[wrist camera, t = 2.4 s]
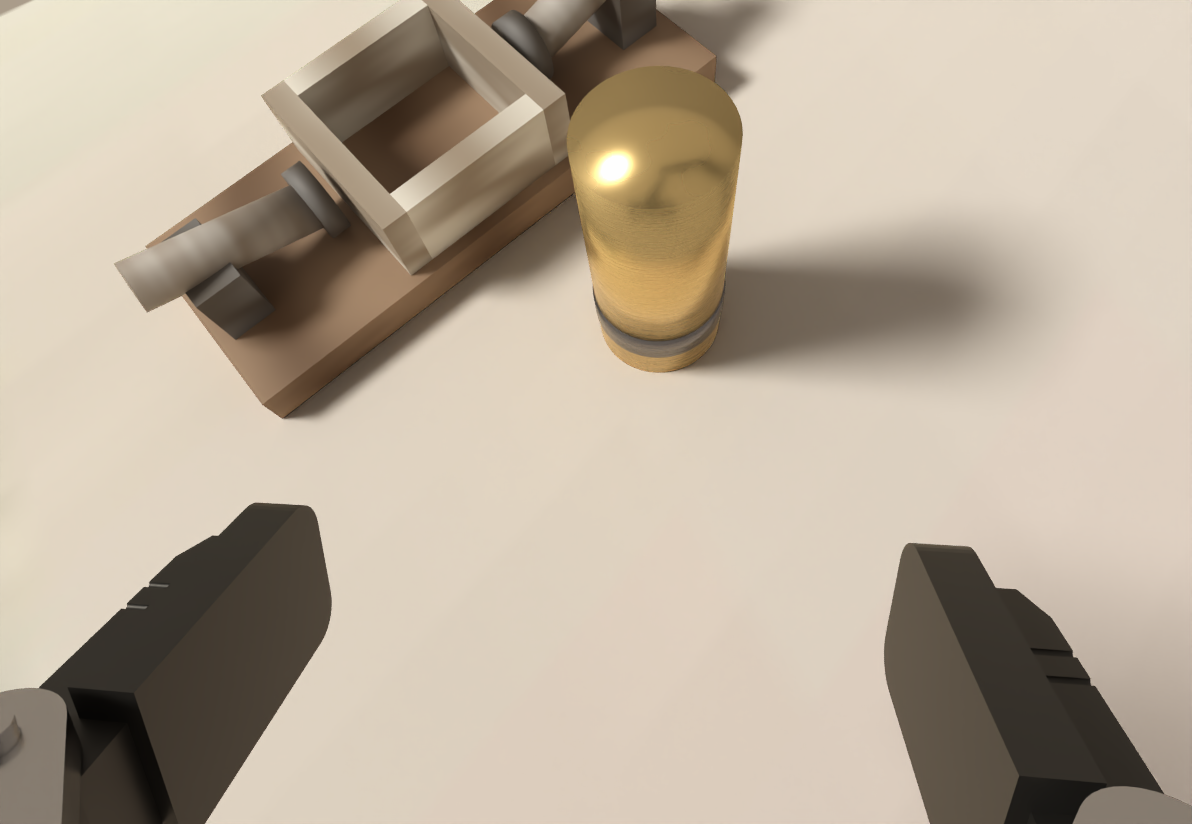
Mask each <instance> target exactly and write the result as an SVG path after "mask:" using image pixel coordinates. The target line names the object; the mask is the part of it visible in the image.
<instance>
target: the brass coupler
mask: <svg viewBox="0 0 1192 824" xmlns="http://www.w3.org/2000/svg"><path fill="white" fill-rule="evenodd" d="M742 136H743V132H742V123H741V119H740V115H739V113H738V110H737V108H736V106H735V104H734V103H733V101H732V99H731V98H730V97H729V96H728V94H727V93H726V92H725V91H724V90H723V89H722V88H721V87H720V86H718V85H717V84H716V83H714V82H713V81H711V80H710V79H708V78H706V77H704V76H703V75H701V74H698V73H696V72H693V71H690V70H686V69H683V68H678V67H671V66H647V67H640V68H635V69H631V70H628V71H624V72H622V73H619V74H617V75H614V76H612V77H610V78H608V79H607V80H605V81H603V82H602V83H600V84H599V85H597V86H596V87H595V88H594V89H592V90H591V91H590V92H589V93H588V94H587V95H586V96H585V97H584V98H583V99H582V101H581V102H580V103H579V105H578V106H577V108H576V109H575V111H574V113H573V115H572V117H571V120H570V123H569V126H568V131H567V151H568V157H569V162H570V167H571V173H572V178H573V183H574V188H575V193H576V199H577V204H578V209H579V214H580V220H581V225H582V230H583V235H584V240H585V246H586V251H587V256H588V261H589V267H590V272H591V277H592V282H593V295H594V300H595V305H596V311H597V315H598V318H599V321H600V324H601V329H602V333H603V336H604V339H605V341H606V343H607V345H608V346H609V348H610V349H611V351H612V352H613V353H614V354H615V355H616V356H617V357H618V358H619V359H620V360H622V361H623V362H625V363H626V364H628V365H630V366H632V367H634V368H637V369H640V370H644V371H648V372H669V371H674V370H678V369H681V368H684V367H686V366H688V365H690V364H692V363H693V362H695V361H696V360H698V359H699V358H700V357H701V356H702V355H703V354H705V353H706V351H707V350H708V349H709V348H710V346H711V345H712V343H713V341H714V339H715V337H716V334H717V331H718V327H719V319H720V316H721V312H722V307H723V299H724V291H725V272H726V264H727V256H728V248H729V240H730V232H731V225H732V217H733V209H734V201H735V193H736V185H737V177H738V170H739V162H740V154H741V146H742Z"/></svg>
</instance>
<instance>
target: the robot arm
mask: <svg viewBox="0 0 1192 824" xmlns="http://www.w3.org/2000/svg"><path fill="white" fill-rule="evenodd" d="M331 606H332V599H331V591H330V585H329V580H328V575H327V569H326V564H325V558H324V553H323V548H322V542H321V537H320V531H319V526H318V521H317V517H316V515H315V513H314V511H313V510H312V509H311V507H309V506H304V505H288V504H271V503H253V504H251V505H249V506H248V507H247V508H246V509H245V510H244V511H243V512H242V513H241V514H240V515H239V516H238V517H237V518H236V519H235V520H234V521H233V522H232V523H231V524H230V525H229V526H228V527H227V528H226V529H225V530H224V531H223V532H222V533H221V534H220V535H219V536H211V537H209V538H208V539H206V540H204V541H202V542H201V543H199V544H197V545H195V546H194V547H192V548H190V549H188V550H187V551H185V552H183V553H181V554H179V555H178V556H176V557H175V558H174V559H173V560H172V561H171V562H170V563H169V564H168V565H167V566H166V567H164V568H163V569H162V570H161V571H160V572H159V573H158V574H157V575H156V576H155V577H154V578H153V579H152V580H151V581H150V582H149V587H144V588H143V589H141V590H140V591H139V592H138V593H137V594H136V595H135V596H134V597H133V598H132V599H131V600H130V601H129V602H128V603H127V608H126V609H121V610H120V611H118V612H117V613H116V614H115V615H114V616H113V617H112V618H111V619H110V620H109V621H108V622H107V623H106V624H105V625H104V626H103V627H102V628H101V629H100V630H99V631H98V632H97V633H95V634H94V635H93V636H92V637H91V638H90V639H89V640H88V641H87V642H86V643H85V644H84V645H83V646H82V647H81V648H80V649H79V650H78V651H77V652H76V653H75V654H74V655H73V656H71V657H70V658H69V659H68V660H67V661H66V662H65V663H64V664H63V665H62V666H61V667H60V668H59V669H58V670H57V671H56V672H55V673H54V674H53V675H52V676H51V677H50V678H48V679H47V680H46V681H45V682H44V683H43V684H42V685H41V686H40V687H39V688H24V689H15V690H9V691H4V692H1V693H0V824H205V823H206V821H207V820H208V818H209V816H210V815H211V813H212V812H213V810H214V809H215V807H216V805H217V804H218V802H219V801H220V799H221V798H222V796H223V795H224V793H225V791H226V790H227V788H228V787H229V785H230V784H231V782H232V781H233V779H234V777H235V776H236V774H237V773H238V771H239V770H240V768H241V767H242V765H243V763H244V762H245V760H246V759H247V757H248V756H249V754H250V752H251V751H252V749H253V748H254V746H255V745H256V743H257V742H258V740H259V738H260V737H261V735H262V734H263V732H264V731H265V729H266V728H267V726H268V724H269V723H270V721H271V720H272V718H273V717H274V715H275V714H276V712H277V710H278V709H279V707H280V706H281V704H282V703H283V701H284V699H285V698H286V696H287V695H288V693H289V692H290V690H291V689H292V687H293V685H294V684H295V682H296V681H297V679H298V678H299V676H300V675H301V673H302V671H303V670H304V668H305V667H306V665H307V664H308V662H309V661H310V659H311V657H312V656H313V654H314V653H315V651H316V650H317V648H318V646H319V645H320V643H321V642H322V640H323V638H324V636H325V634H326V631H327V628H328V625H329V621H330V616H331ZM1072 653H1073V651H1072V649H1071V647H1070V646H1069V644H1068V643H1067V641H1066V640H1065V638H1064V637H1063V635H1062V633H1061V632H1060V630H1059V629H1058V627H1057V626H1056V624H1055V622H1054V621H1053V619H1052V618H1051V617H1050V616H1048V615H1047V614H1046V613H1045V612H1044V611H1042V610H1041V609H1040V608H1039V607H1037V606H1036V605H1035V604H1034V603H1032V602H1031V601H1030V600H1029V599H1028V598H1026V597H1025V596H1024V595H1023V594H1021V593H1020V592H1019V591H1018V590H1016V589H1002V588H996V587H995V586H994V584H993V582H992V580H991V579H990V577H989V575H988V573H987V572H986V570H985V568H984V566H983V565H982V563H981V561H980V559H979V558H978V556H977V554H976V553H975V551H974V550H973V549H972V548H971V547H967V546H950V545H934V544H917V543H908V544H907V545H906V546H905V547H904V549H903V552H902V555H901V559H900V564H899V569H898V574H897V579H896V584H895V590H894V595H893V600H892V605H891V610H890V615H889V621H888V626H887V631H886V637H885V646H884V664H885V674H886V680H887V685H888V689H889V692H890V695H891V699H892V702H893V705H894V708H895V712H896V715H897V718H898V721H899V725H900V728H901V731H902V734H903V738H904V741H905V744H906V747H907V751H908V754H909V757H910V760H911V764H912V767H913V770H914V773H915V777H916V780H917V783H918V786H919V790H920V793H921V796H922V799H923V802H924V806H925V809H926V812H927V815H928V819H929V822H930V824H1192V806H1190V805H1188V804H1186V803H1184V802H1182V801H1180V800H1177V799H1175V798H1173V797H1170V796H1167V795H1165V794H1164V793H1163V791H1162V790H1161V788H1160V787H1159V785H1158V783H1157V782H1156V780H1155V779H1154V777H1153V776H1152V774H1151V772H1150V771H1149V769H1148V768H1147V766H1146V765H1145V763H1144V762H1143V760H1142V758H1141V757H1140V755H1139V754H1138V752H1137V751H1136V749H1135V747H1134V746H1133V744H1132V743H1131V741H1130V740H1129V738H1128V737H1127V735H1126V733H1125V732H1124V730H1123V729H1122V727H1121V726H1120V724H1119V722H1118V721H1117V719H1116V718H1115V716H1114V715H1113V713H1112V712H1111V710H1110V708H1109V707H1108V705H1107V704H1106V702H1105V701H1104V699H1103V697H1102V696H1101V694H1100V693H1099V691H1098V690H1097V688H1096V687H1095V686H1091V683H1090V677H1089V676H1088V674H1087V672H1086V671H1085V669H1084V668H1083V666H1082V665H1081V663H1080V662H1079V660H1078V658H1075V657H1073V654H1072Z"/></svg>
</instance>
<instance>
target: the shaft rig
mask: <svg viewBox="0 0 1192 824" xmlns="http://www.w3.org/2000/svg"><path fill="white" fill-rule="evenodd" d="M647 66H671V67H678V68H683V69H686V70H690V71H693V72H696V73H698V74H701V75H703V76H704V77H706V78H708V79H710V80H711V81H713V82H714V83H715V70H716V55H715V54H713V53H712V52H711V51H709V50H708V49H707V48H706V47H704V46H703V45H702V44H700V43H699V42H698V41H697V40H695V39H694V38H693V37H691V36H690V35H689V34H688V33H686V32H685V31H684V30H682V29H681V28H680V27H679V26H677V25H676V24H675V23H673V22H672V21H671V20H670V19H668V18H667V17H666V16H664V15H663V14H662V13H660V12H659V11H658V10H657V9H656V0H493V1H492V2H490V3H489V4H488V5H486V6H485V7H483V8H482V9H481V10H479V11H478V12H476V13H475V14H474V13H473V12H472V11H471V10H470V9H469V8H467V7H466V6H465V5H464V4H463V3H462V2H461V1H459V0H399V1H398V2H396V3H395V4H393V5H392V6H391V7H389V8H388V9H386V10H385V11H383V12H382V13H380V14H379V15H378V16H376V17H375V18H373V19H372V20H370V21H369V22H367V23H366V24H364V25H363V26H362V27H360V28H359V29H357V30H356V31H354V32H353V33H351V34H350V35H349V36H347V37H346V38H344V39H343V40H341V41H340V42H338V43H337V44H335V45H334V46H333V47H331V48H330V49H328V50H327V51H325V52H324V53H322V54H321V55H320V56H318V57H317V58H315V59H314V60H312V61H311V62H309V63H308V64H306V65H305V66H304V67H302V68H301V69H299V70H298V71H296V72H295V73H293V74H292V75H290V76H289V77H288V78H286V79H285V80H283V81H282V82H280V83H279V84H277V85H276V86H275V87H273V88H272V89H270V90H269V91H267V92H266V93H264V94H263V95H261V96H262V98H263V99H264V101H265V102H266V104H267V105H268V107H269V108H270V110H271V111H272V112H273V114H274V115H275V117H276V118H277V120H278V121H279V123H280V124H281V126H282V127H283V129H284V130H285V131H286V133H287V134H288V136H289V137H290V139H291V140H292V143H291V144H289V145H288V146H287V147H285V148H284V149H282V150H281V151H280V152H278V153H277V154H275V155H274V156H273V157H271V158H270V159H268V160H267V161H265V162H264V163H263V164H261V165H260V166H258V167H257V168H256V169H254V170H253V171H251V172H250V173H248V174H247V175H246V176H244V177H243V178H241V179H240V180H239V181H237V182H236V183H234V184H233V185H231V186H230V187H229V188H227V189H226V190H224V191H223V192H222V193H220V194H219V195H217V196H216V197H214V198H213V199H212V200H210V201H209V202H207V203H206V204H205V205H203V206H202V207H200V208H199V209H198V210H196V211H195V212H193V213H192V214H190V215H189V216H188V217H186V218H185V219H183V220H182V221H181V222H179V223H178V224H176V225H175V226H173V227H172V228H171V229H169V230H168V231H166V232H165V233H164V234H162V235H161V236H159V237H158V238H156V239H155V240H154V241H152V242H151V243H149V244H148V245H147V246H145V247H146V248H147V249H145V250H143V251H141V252H139V253H136V254H134V255H132V256H130V257H127V258H125V259H123V260H121V261H119V262H116V263H114V265H115V266H116V268H117V269H118V271H119V272H120V274H121V275H122V277H123V278H124V280H125V281H126V283H127V284H128V286H129V287H130V289H131V290H132V292H133V293H134V295H135V296H136V297H137V299H138V300H139V302H140V303H141V305H142V306H143V307H144V309H145V310H146V311H147V312H149V311H151V310H153V309H155V308H157V307H160V306H162V305H164V304H166V303H168V302H170V301H172V300H174V299H176V298H178V297H180V296H182V297H183V298H184V299H185V301H186V302H187V303H188V305H189V306H190V307H191V309H192V310H193V311H194V313H195V314H196V316H197V317H198V318H199V320H200V321H201V322H202V324H203V325H204V326H205V328H206V329H207V330H208V332H209V333H210V334H211V336H212V337H213V339H214V340H215V341H216V343H217V344H218V345H219V347H220V348H221V349H222V351H223V352H224V353H225V355H226V356H227V357H228V359H229V360H230V362H231V363H232V364H233V366H234V367H235V368H236V370H237V371H238V372H239V374H240V375H241V376H242V378H243V379H244V380H245V382H246V383H247V385H248V386H249V387H250V389H251V390H252V391H253V393H254V394H255V395H256V397H257V398H258V399H259V401H260V402H261V403H262V405H264V406H265V407H267V408H268V409H269V410H271V411H272V412H274V413H275V414H276V415H278V416H279V417H281V418H282V419H283V418H284V417H285V416H287V415H288V414H289V413H290V412H292V411H293V410H294V409H296V408H297V407H298V406H300V405H301V404H302V403H303V402H305V401H306V400H307V399H309V398H310V397H311V396H312V395H314V394H315V393H316V392H318V391H319V390H320V389H321V388H323V387H324V386H325V385H327V384H328V383H329V382H330V381H332V380H333V379H334V378H336V377H337V376H338V375H340V374H341V373H342V372H343V371H345V370H346V369H347V368H349V367H350V366H351V365H352V364H354V363H355V362H356V361H358V360H359V359H360V358H361V357H363V356H364V355H365V354H367V353H368V352H369V351H370V350H372V349H373V348H374V347H376V346H377V345H378V344H380V343H381V342H382V341H383V340H385V339H386V338H387V337H389V336H390V335H391V334H392V333H394V332H395V331H396V330H398V329H399V328H400V327H401V326H403V325H404V324H405V323H407V322H408V321H409V320H411V319H412V318H413V317H414V316H416V315H417V314H418V313H420V312H421V311H422V310H423V309H425V308H426V307H427V306H429V305H430V304H431V303H432V302H434V301H435V300H436V299H438V298H439V297H440V296H441V295H443V294H444V293H445V292H447V291H448V290H449V289H451V288H452V287H453V286H454V285H456V284H457V283H458V282H460V281H461V280H462V279H463V278H465V277H466V276H467V275H469V274H470V273H471V272H472V271H474V270H475V269H476V268H478V267H479V266H480V265H481V264H483V263H484V262H485V261H487V260H488V259H489V258H491V257H492V256H493V255H494V254H496V253H497V252H498V251H500V250H501V249H502V248H503V247H505V246H506V245H507V244H509V243H510V242H511V241H512V240H514V239H515V238H516V237H518V236H519V235H520V234H521V233H523V232H524V231H525V230H527V229H528V228H529V227H531V226H532V225H533V224H534V223H536V222H537V221H538V220H540V219H541V218H542V217H543V216H545V215H546V214H547V213H549V212H550V211H551V210H552V209H554V208H555V207H556V206H558V205H559V204H560V203H562V202H563V201H564V200H565V199H567V198H568V197H569V196H571V195H572V194H573V193H574V192H575V188H574V183H573V178H572V173H571V167H570V162H569V157H568V151H567V131H568V126H569V123H570V120H571V117H572V115H573V113H574V111H575V109H576V108H577V106H578V105H579V103H580V102H581V101H582V99H583V98H584V97H585V96H586V95H587V94H588V93H589V92H590V91H591V90H592V89H594V88H595V87H596V86H597V85H599V84H600V83H602V82H603V81H605V80H607V79H608V78H610V77H612V76H614V75H617V74H619V73H622V72H624V71H628V70H631V69H635V68H640V67H647Z"/></svg>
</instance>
